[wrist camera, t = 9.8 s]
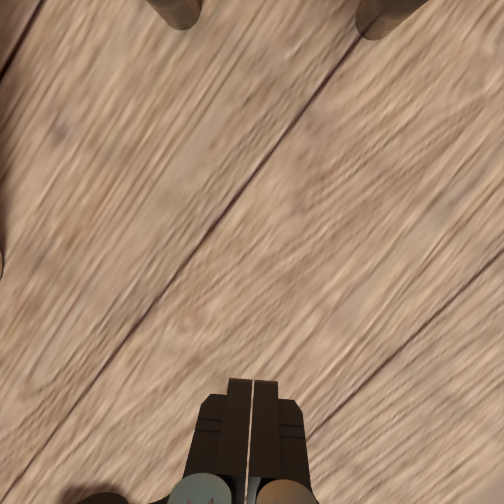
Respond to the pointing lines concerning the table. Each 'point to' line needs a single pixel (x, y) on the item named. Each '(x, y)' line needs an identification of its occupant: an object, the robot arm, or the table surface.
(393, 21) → the post
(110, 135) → the table surface
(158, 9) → the post
